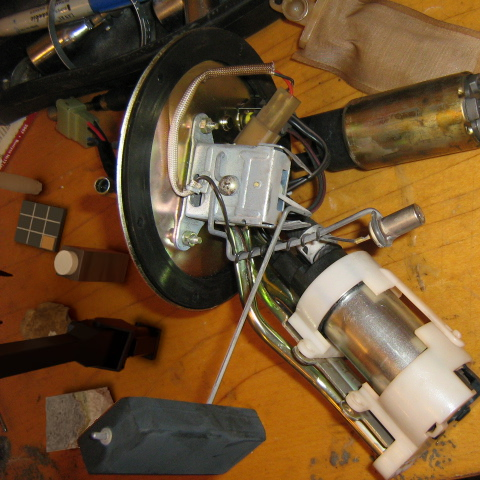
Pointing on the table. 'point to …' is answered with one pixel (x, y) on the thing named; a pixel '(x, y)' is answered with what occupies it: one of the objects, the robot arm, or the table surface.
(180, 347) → the table surface
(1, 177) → the handle
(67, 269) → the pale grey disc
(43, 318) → the decorative rock
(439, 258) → the table surface
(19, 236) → the board
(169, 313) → the table surface
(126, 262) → the stand
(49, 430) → the geological specimen
